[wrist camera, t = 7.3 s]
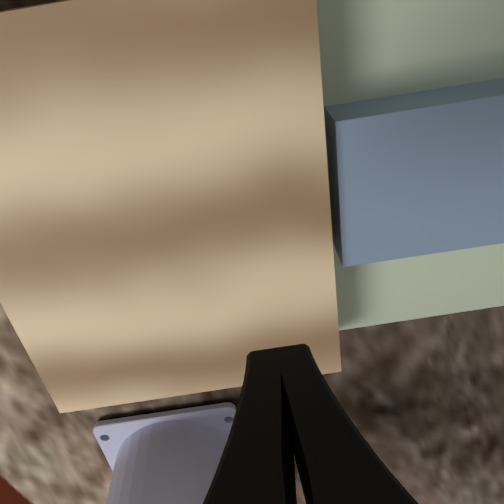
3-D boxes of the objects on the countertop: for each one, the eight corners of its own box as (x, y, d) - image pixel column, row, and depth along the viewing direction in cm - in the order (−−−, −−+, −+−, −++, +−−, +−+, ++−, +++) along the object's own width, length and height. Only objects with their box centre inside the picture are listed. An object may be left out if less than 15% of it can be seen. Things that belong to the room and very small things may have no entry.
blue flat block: (537, 211, 21) (565, 233, 19) (332, 242, 21) (342, 267, 19) (565, 68, 18) (602, 79, 16) (324, 106, 18) (335, 121, 16)
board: (328, 327, 24) (341, 371, 21) (77, 365, 24) (60, 413, 22) (298, -42, 16) (313, -43, 13) (-85, 25, 16) (-143, 37, 13)
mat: (567, 291, 24) (571, 295, 23) (328, 327, 24) (329, 331, 24) (668, -106, 15) (675, -107, 15) (298, -42, 16) (299, -42, 15)
